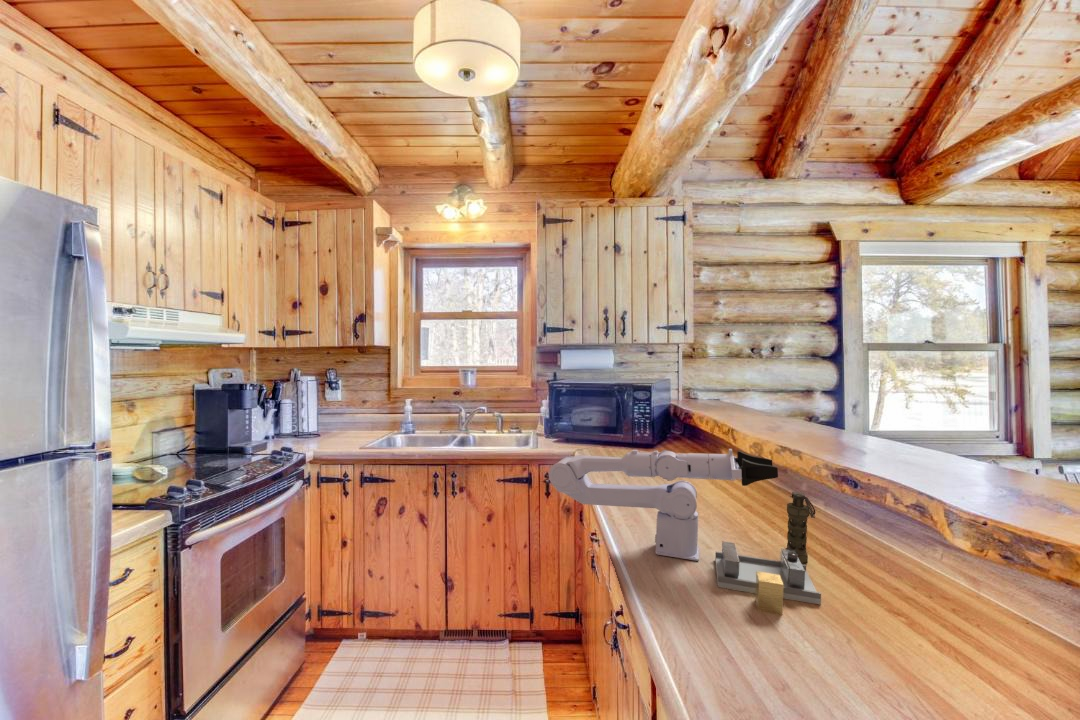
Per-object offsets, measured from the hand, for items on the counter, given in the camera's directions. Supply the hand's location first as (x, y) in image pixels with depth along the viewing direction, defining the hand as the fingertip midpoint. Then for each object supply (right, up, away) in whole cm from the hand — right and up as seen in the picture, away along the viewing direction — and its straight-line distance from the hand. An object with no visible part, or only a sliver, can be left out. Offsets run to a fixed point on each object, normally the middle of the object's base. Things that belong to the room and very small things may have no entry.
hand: (774, 468), depth 103 cm
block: (-10, -22, -16) cm, 29 cm away
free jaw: (-1, -21, -8) cm, 22 cm away
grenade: (+8, -22, +5) cm, 24 cm away
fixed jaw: (-12, -21, -4) cm, 25 cm away
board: (-6, -22, -6) cm, 23 cm away
